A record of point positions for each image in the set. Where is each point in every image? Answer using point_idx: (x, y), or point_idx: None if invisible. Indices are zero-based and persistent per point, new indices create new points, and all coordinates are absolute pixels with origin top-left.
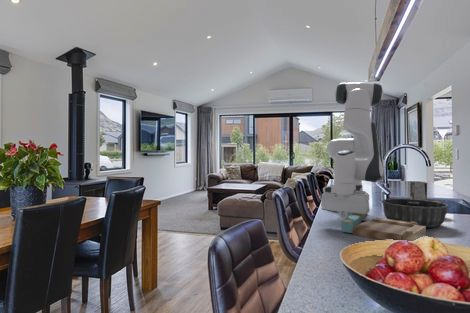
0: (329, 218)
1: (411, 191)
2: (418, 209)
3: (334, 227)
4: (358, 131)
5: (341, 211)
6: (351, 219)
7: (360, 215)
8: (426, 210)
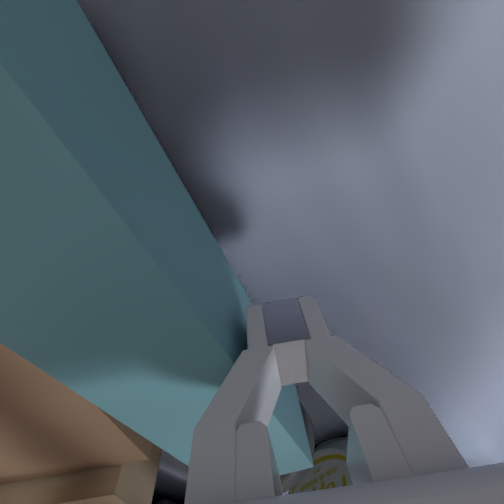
0: (498, 394)
1: None
2: None
3: (356, 210)
4: None
5: (372, 471)
6: (102, 344)
7: None
8: None
